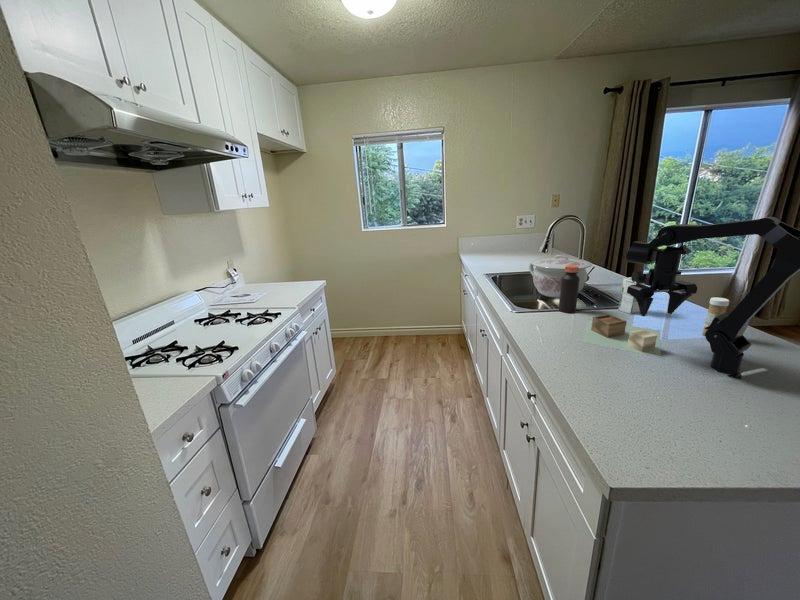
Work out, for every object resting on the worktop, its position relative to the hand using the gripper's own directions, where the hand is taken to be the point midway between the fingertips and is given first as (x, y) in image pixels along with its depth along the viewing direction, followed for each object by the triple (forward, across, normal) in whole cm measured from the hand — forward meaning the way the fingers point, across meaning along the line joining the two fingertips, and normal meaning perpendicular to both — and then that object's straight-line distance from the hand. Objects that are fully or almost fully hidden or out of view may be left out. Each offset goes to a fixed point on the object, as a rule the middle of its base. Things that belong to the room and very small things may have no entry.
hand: (656, 314), depth 101 cm
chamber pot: (+12, -5, -61) cm, 62 cm away
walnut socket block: (+11, +6, -12) cm, 17 cm away
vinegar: (+12, +4, -38) cm, 40 cm away
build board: (+12, +4, -8) cm, 15 cm away
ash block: (+11, +4, +1) cm, 11 cm away
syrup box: (+12, -19, -31) cm, 38 cm away
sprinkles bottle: (+12, -26, -4) cm, 29 cm away
